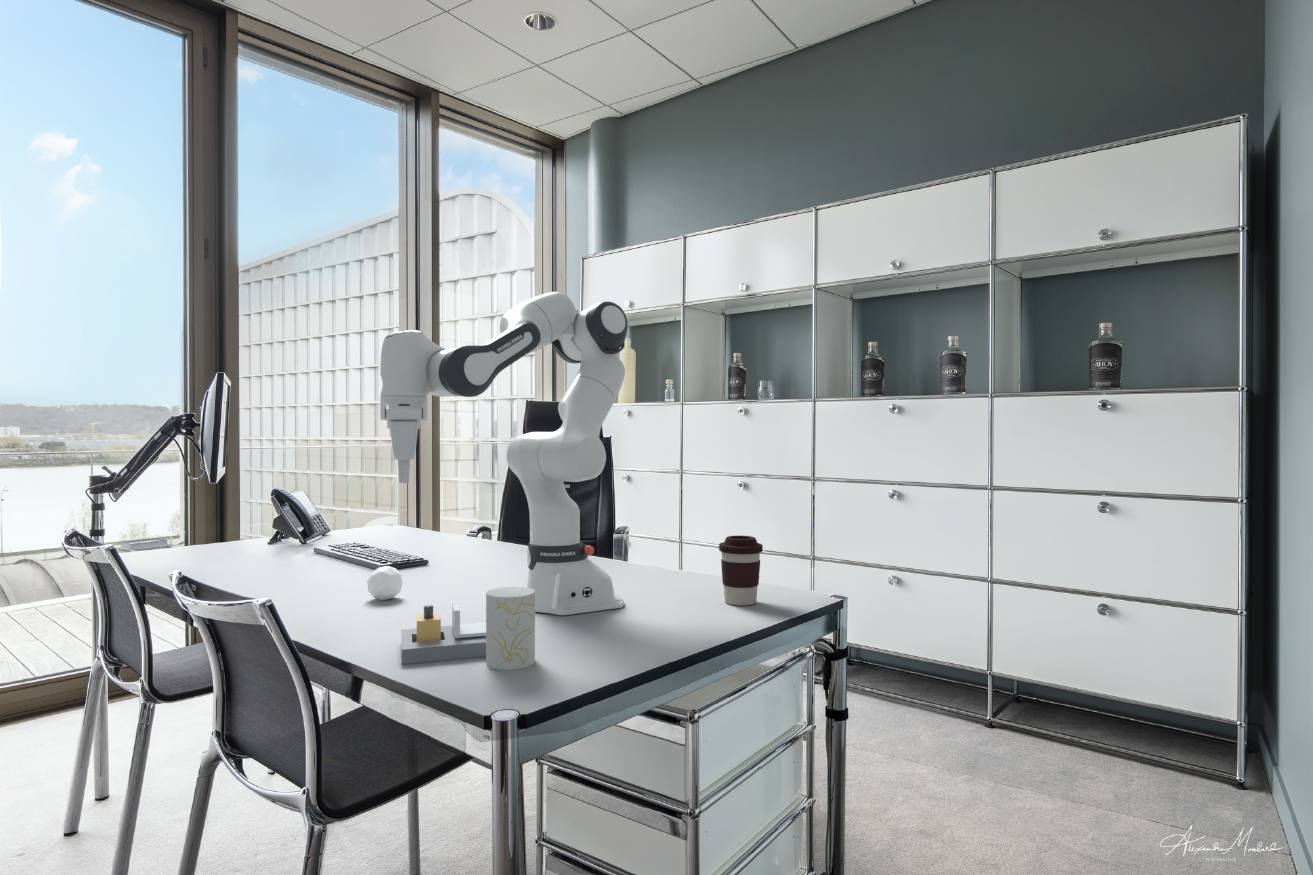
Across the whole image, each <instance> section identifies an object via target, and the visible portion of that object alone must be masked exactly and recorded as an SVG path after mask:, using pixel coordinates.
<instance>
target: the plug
mask: <svg viewBox="0 0 1313 875" xmlns="http://www.w3.org/2000/svg"><path fill="white" fill-rule="evenodd" d="M441 621H442V620H441V614H440V613H438V614H437V613H436V614H434V605H432V604H431V605H428V604H427V605H424V606H423V615H416V628H417V642H425V641H436V640H441V625H442V622H441Z"/></svg>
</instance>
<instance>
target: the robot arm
mask: <svg viewBox="0 0 1313 875" xmlns="http://www.w3.org/2000/svg"><path fill="white" fill-rule="evenodd" d="M628 324H629V323H628V317H627V314H626V313H625V311H624V309H623V308H622V307H621V306H620V305H618V304H617V303H615V302H614V301H606V300H605V301H600V302H597V303H594V304H592V305H590V306H589V307H587V308H585V309H584V310H581V311H580V310H579V309H577V308H576V307H575V304H574V302H573V301H572V299H571V298H570V297H569V296H568V295H566V294H565V293H563V292H560V291H551V292H545V293H542V294H540V295H537V296H534V297H531V298H530V299H529V298H528V299H526V300H525V301H523V302H521V303H519V304H517V305H515V306H514V307H512V308H511V309H510V310H508V311H507V312H505V314H503V315H502V316H501V319H500V322H499V333H500V334H498V335H497V336H495V337H493V338H492V339H490V340H489V341H487V342H485V343H484V344H481V345H464V346H459V347H456V348H448V349H446V347H445V348H444V347H442V346H440V345H438V344H436V342H433V341H432V340H431V339H430V338H428V337H427V336H426V335H425V333H424V332H423V331H422V330H419V329H418V330H417V329H411V330H402V331H396V332H392V333H391V332H390V333H389V334H387V335H386V336H385V337H384V339H383V340H382V346H381V353H380V368H379V369H380V372H379V373H380V377H381V382H382V385H381V386H382V388H381V391H380V397H379V400H380V403H379V404H380V407H379V408H380V410H379V412H380V414H379V415H380V416H379V418H380V420H381V421H386V423H387V425H386V428H387V429H390V430H389V431H390V437H391V438H390V439H391V447H392V454H393V458H394V460H397V462H398V463H397V464H398V465H397V466H398V482H399V483H400V484H408V483H409V482H410V468H411V460H414V459H415V456H416V449H417V442H418V441H417V440H418V434H419V433H418V432H419V429H421V426H422V422H423V421H428V395H431V396H433V397H438V398H440V397H441V398H444V397H462V398H463V397H465V398H473V397H478V396H479V395H482V394H483V393H484V392H486V390H488V388H489V387H490V386H491V385H492V383H493V382H494V380H495V379H496V378H497V376H498V375H499V374H500V373H501V372H502V371H503V370H505V369H506V368H508V367H510V366H511V365H513V364H514V363H516V362H517V361H519V360H520V359H521V358H523V357H525V356H526V355H529V354H531V353H534V352H537V351H539V350H541V349H543V348H544V347H546V346H548V345H550V344H551V345H552V346H553V348H554V350H555V352H556V353H557V355H558V356H559V357H560V358H561V359H562V360H563V361H564V362H566V363H570V364H580V367H579V369H578V370H579V371H578V372H577V373H576V375H575V377H574V378H573V380H572V381H571V382H570V384H569V386H568V388H567V389H566V391H565V393H564V394H563V396H562V397H561V399H559V400H560V401H559V402H558V406H557V410H558V414H559V416H560V417H559V418H560V420H561V421H562V424H561V426H559V428H558V429H557V430H555V431H530V432H527V433H523V434H521V435H517V436H515V437H514V438H512V439H511V441H510V442H509V444H508V446H507V451H506V462H507V465H508V467H509V469H510V471H512V473H513V474H514V475H515V476H516V478H518V480H519V482H520V484H521V486H522V488H523V491H524V494H525V498H526V500H527V504H528V505H527V506H528V511H529V542H528V545H527V568H528V577H527V578H528V579H527V586H526V588H531V589H534V590H535V613H543V614H551V615H557V616H569V615H576V614H583V613H591V612H599V611H607V610H613V609H620V608H623V607H624V605H625V603H624V602H625V601H624V599H623V597H622V596H621V595H620V594H618V593H615V590H614V586H613V580H612V578H611V576H610V575H609V574H608V573H607V572H606V571H605V570H604V569H603V568H601V567H599V565H597V564H596V563H594V562H593V561H592V560H591V559H589V558H588V557H589V556H592V555H593V554H594V553H595V548H594V547H593V546H591V545H590V544H589V545H588V544H585V543H583V542H582V541H580V540H581V536H580V533H581V532H580V531H581V526H580V525H581V524H580V522H581V521H580V518H581V516H580V515H581V514H580V513H581V512H580V507H579V505H578V504H577V503H576V501H575V500H574V499H572V498H571V497H570V495H569V494H568V491H567V490H566V489H567V488H566V487H565V483H564V482H567V483H569V482H570V483H578V482H584V481H589V480H593V479H595V478H597V477H598V476H599V475H600V474H602V472H603V471H604V468H605V466H606V462H607V453H606V452H607V451H606V449H605V448H606V447H605V445H604V444H603V442H602V440H601V438H600V432H601V428H602V426H603V424H604V422H605V420H606V418H607V416H608V414H609V412H610V411H611V409H612V407H613V405H614V403H615V402H616V400H617V397H618V395H619V394H620V390H621V388H622V385H623V382H624V379H625V376H626V368H625V365H624V363H623V361H622V360H621V359H620V358H619V357H618V355H617V354H618V353H620V352H622V351H623V350H624V348H625V339H626V336H627V333H628V328H629V327H628ZM421 421H422V422H421Z"/></svg>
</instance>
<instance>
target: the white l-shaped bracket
mask: <svg viewBox="0 0 1313 875" xmlns="http://www.w3.org/2000/svg"><path fill="white" fill-rule="evenodd" d="M451 605H452V607H451V609H452V610H451V611H452V612H451V615H452V616H451V618H452V621H451V626H452V631H453V634H454V638H465V637H477V636H486V621H484V622H470V623H462V624H461V609H460V606H459V604H458V603H457V604H455V603H453V604H451Z"/></svg>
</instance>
